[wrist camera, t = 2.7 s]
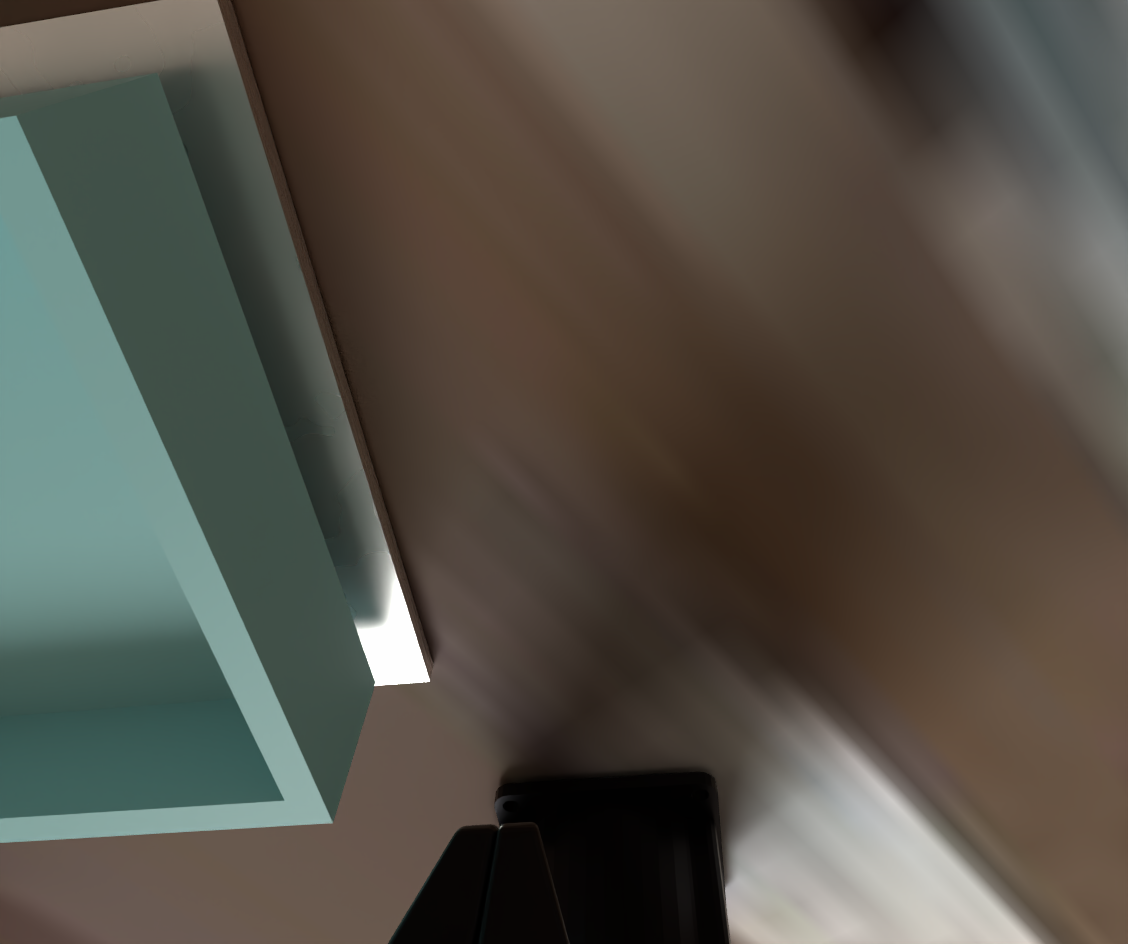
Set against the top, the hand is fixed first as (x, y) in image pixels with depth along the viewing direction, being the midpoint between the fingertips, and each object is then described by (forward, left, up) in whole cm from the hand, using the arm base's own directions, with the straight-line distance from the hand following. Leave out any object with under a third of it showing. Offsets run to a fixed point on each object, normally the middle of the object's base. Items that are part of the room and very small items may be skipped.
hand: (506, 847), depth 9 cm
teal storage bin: (+12, 0, -11) cm, 17 cm away
